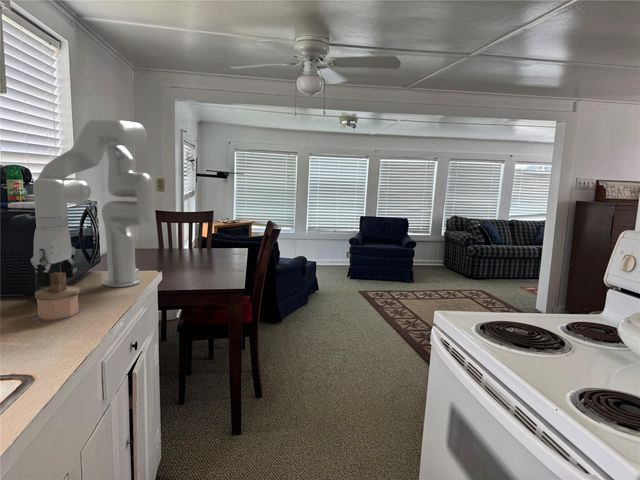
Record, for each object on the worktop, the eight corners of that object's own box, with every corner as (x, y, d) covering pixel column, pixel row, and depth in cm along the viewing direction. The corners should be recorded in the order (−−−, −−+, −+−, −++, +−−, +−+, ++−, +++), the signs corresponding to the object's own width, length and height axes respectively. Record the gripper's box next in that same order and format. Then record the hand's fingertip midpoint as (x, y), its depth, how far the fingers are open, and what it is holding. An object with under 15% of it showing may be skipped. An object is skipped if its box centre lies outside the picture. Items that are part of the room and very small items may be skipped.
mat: (53, 309, 122) (53, 308, 122) (86, 310, 122) (86, 309, 122) (29, 321, 112) (29, 319, 112) (64, 322, 112) (64, 321, 112)
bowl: (53, 308, 122) (52, 289, 121) (84, 309, 121) (83, 290, 121) (31, 319, 112) (29, 299, 111) (64, 320, 112) (63, 300, 111)
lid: (52, 288, 121) (50, 269, 121) (87, 290, 121) (86, 270, 120) (25, 299, 111) (23, 277, 110) (64, 300, 111) (62, 279, 110)
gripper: (59, 219, 121) (63, 274, 124) (15, 226, 104) (21, 289, 107) (83, 220, 121) (87, 275, 124) (44, 226, 104) (48, 290, 107)
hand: (56, 281), depth 115 cm, fingers open, 9 cm apart
